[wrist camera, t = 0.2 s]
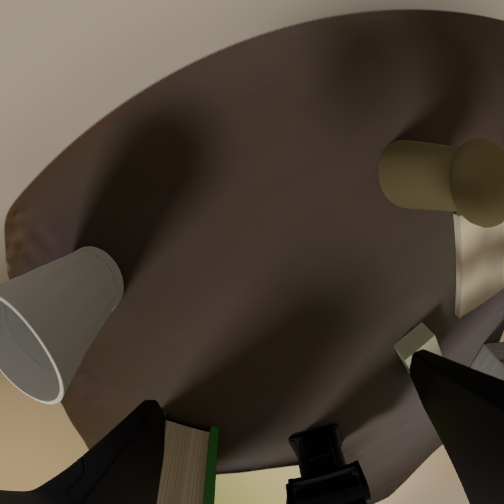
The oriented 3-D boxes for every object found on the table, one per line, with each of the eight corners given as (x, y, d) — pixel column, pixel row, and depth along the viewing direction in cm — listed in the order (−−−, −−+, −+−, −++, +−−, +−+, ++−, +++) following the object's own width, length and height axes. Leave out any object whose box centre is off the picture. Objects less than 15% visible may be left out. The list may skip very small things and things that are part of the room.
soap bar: (432, 350, 26) (444, 364, 23) (407, 370, 26) (417, 386, 23) (420, 321, 24) (435, 335, 21) (392, 344, 25) (404, 360, 22)
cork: (410, 222, 21) (501, 261, 10) (365, 178, 20) (459, 191, 9) (441, 171, 20) (533, 183, 9) (399, 125, 18) (494, 108, 8)
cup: (89, 218, 20) (-13, 263, 8) (149, 287, 22) (84, 381, 10) (50, 272, 21) (-30, 330, 10) (102, 331, 23) (43, 415, 12)
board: (509, 277, 23) (514, 279, 22) (454, 314, 24) (459, 318, 23) (510, 189, 20) (515, 190, 19) (453, 214, 21) (459, 216, 20)
